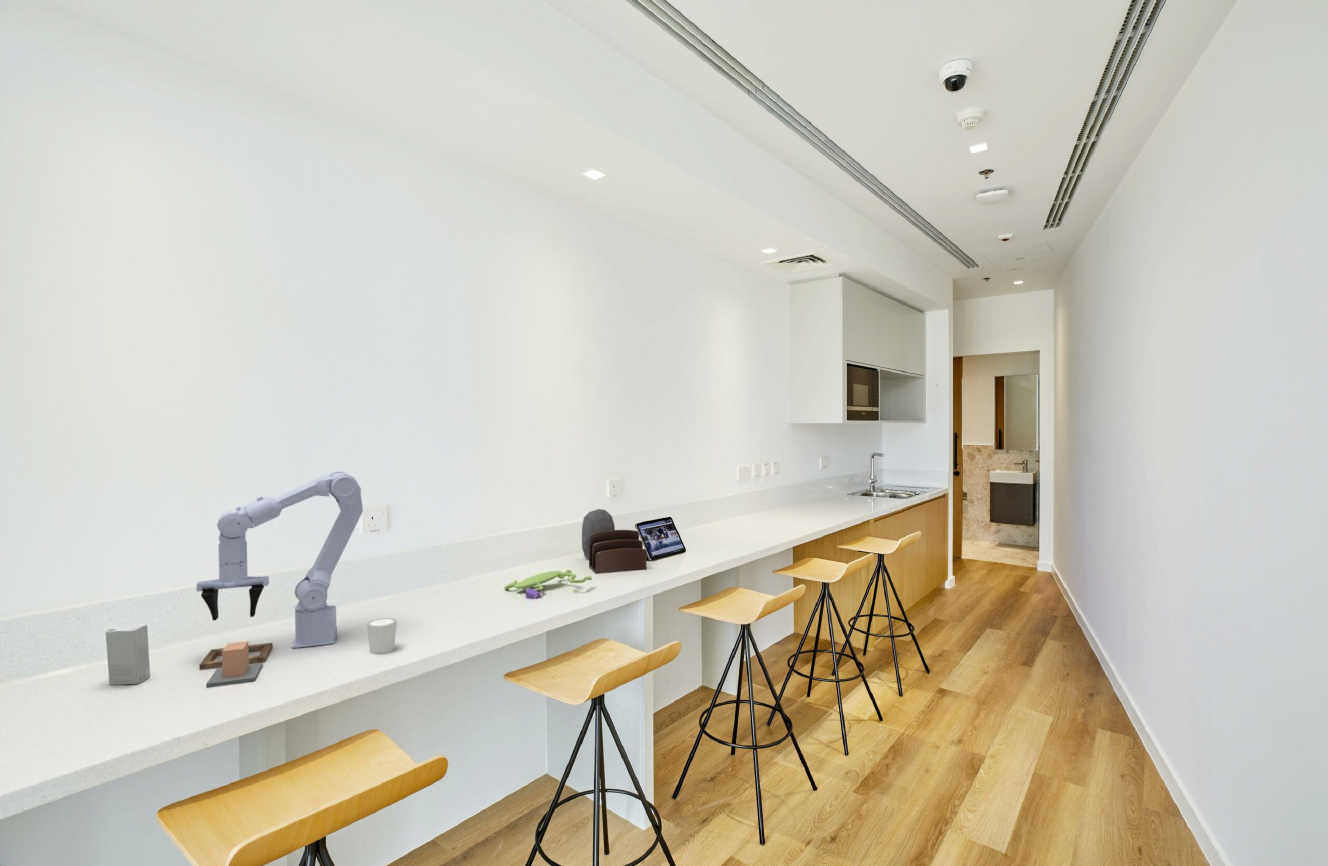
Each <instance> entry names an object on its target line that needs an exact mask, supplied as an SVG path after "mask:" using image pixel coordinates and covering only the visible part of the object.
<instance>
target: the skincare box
mask: <svg viewBox="0 0 1328 866" xmlns="http://www.w3.org/2000/svg"><path fill="white" fill-rule="evenodd" d="M148 636H149V635H148V624H128V625H127V624H126V625H125V624H122V625H117V626H116V625H115V626H114V627H112V628H110V629H109V630H106V631H105V642H106V644H105V645H106V653H107V654H106V655H107V656H106V657H107V669H108V672H107V673H108V682H109V684H108V685H110V686H115V685H116V686H117V685H118V686H119V685H123V686H124V685H138V684H141V683H143V682H144V681H146V680H147V679H149V678H151V668H150V667H151V666H150V651H149V650H150V649H149V637H148Z"/></svg>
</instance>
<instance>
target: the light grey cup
mask: <svg viewBox="0 0 1328 866" xmlns="http://www.w3.org/2000/svg"><path fill="white" fill-rule="evenodd" d="M397 621H398V620H397V619H396V618H393V617H392V618H391V617H383V618H376V619H373V620H370V621H368V622H367V623H366V626H367V635H368V645H369V652H370V654H374V653H375V655H379V654H380V655H382V654H386V652H387V653H391V652H392V651H393V650H394V649H395V644H396V643H395V642H396V635H397V634H396V632H397ZM391 650H392V651H391ZM381 653H382V654H381Z"/></svg>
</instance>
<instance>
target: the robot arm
mask: <svg viewBox="0 0 1328 866" xmlns="http://www.w3.org/2000/svg"><path fill="white" fill-rule="evenodd" d="M361 493H362V488H361V486H360V485H359V483H358V481H357V480H356V478H355V477H354V476H353V475H350V474H347V473H346V472H343V471H334V472H332V473H330V474H329V475H328V474H326V475H323V476H320V477H317V478H315V479H313V480H310V481H308V482H306V483H304V484H302V485H300V486H298V487H296V488H294V489H292V490H290V491H288V492H285V493H283V494H281V495H279V496H277V497H273V496H270V495H266V496H265V497H264V496H262V495H260V496H257V497H256V500H255V501H253V502H250V503H248V504H246V505H243V506H240V505H239V506H236V507H235V510H236V511H235V510H234V511H233V510H231V511H227V512H225V513H223V514H221V515H220V517H219V519H218V520H217V523H216V526H217V529H218V531H219V535H218V541H219V543H218V577H219V578H217V579H209V580H200V581H198V582H196V592H201V594H200V596H201V598H202V599H203V601H204V603H206V606H207V608H208V610H209V612H210V615H211V617H212V618H211V619H212V622H213V621H217V620H218V619H219V604H218V603H219V590H222V589H225V590H226V589H238V588H247V587H248V588H249V587H250V588H249V590H248V593H249V594H248V595H249V603H250V605H249V607H250V608H249V617H250V618H252V617H253V618H254V617H255V615H256V610H257V605H258V602H259V599H260V598H261V594H262V593H263V590H264V589H265V587H268V586H269V584H270V576H268V575H267V576H266V575H265V576H249V575H248V542H247V540H246V533H247V531H248V529H254V528H256V527H259V526H261V525H263V524H266V523H267V522H269V521H273V520H274V519H276V518H278V517H280V515H281V514H282V513H281V512H282V511H283V510H284V509H286V508H288V507H291V506H294V505H295V504H298V503H301V502H303V501H305V500H308V499H310V498H313V497H315V496H317V497H330V496H332V497H333V498H334V499H335V501H336V503H337V505H338V508H339V513H338V515H337V517H336V519H335V521H334V523H333V525H332V527H331V529H330V532H329V534H328V535H327V537H326V539H325V540H324V541H325V542H324V544H323V546H322V547H321V549H320V551H319V554H318V555H317V557H316V559H315V561H314V563H313V565H312V566H311V568H310V569H309V570H308V571H307V572H306V575H305V577H303V578H302V579H301V580H300V581H299V582H298V583H297V584H296V586H295V588H294V595H295V597H296V598H297V600H298V603H297V604H296V606H295V607H294V623H295V624H294V627H295V630H294V631H295V633H294V635H295V636H294V637H295V639H294V640H293V643H292V645H291V648H292V649H297V648H298V649H299V648H306V647H307V648H308V647H314V646H315V647H316V646H325V645H333V644H335V640H336V637H337V634H338V626H337V606H336V605H335V604H334V605H328V602H327V600H328V590H329V588H330V585H331V582H332V581H331V579H332V574H333V573H334V571H335V568H336V566H338V565H337V564H338V563H339V561H340V558H342V557H341V556H342V555H343V552H344V551H345V548H346V546H347V544H348V542H349V541H350V539H351V536H352V534H353V532H354V530H355V528H356V526H357V524H358V522H359V520H360V519H361V516H362V514H363V510H364V507H363V501H362V494H361Z"/></svg>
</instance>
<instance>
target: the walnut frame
mask: <svg viewBox="0 0 1328 866" xmlns="http://www.w3.org/2000/svg"><path fill="white" fill-rule="evenodd" d="M224 648H225V647H222V648H212V649H210V650H209V652H208V653H207V654H206V655H205V656H204V658H203V660H202V661H201V662H200V664H199V670H200V671H203V670H210V669H211V670H212V669H217V668H222V659H218V660H215V659H216V658H217V657H219V656H222V650H223V649H224ZM273 648H274V643H273V642H268V643H267V642H266V643H258V644H250V645H249V644H248V649H249V653H252V652H254V653H255V652H260V653H259V655H253V656H249V664H252V663H253V664H256V663H266V662H267V659H268V658H269V656H270V654H271V652H272V650H273ZM261 650H262V651H261Z"/></svg>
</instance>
